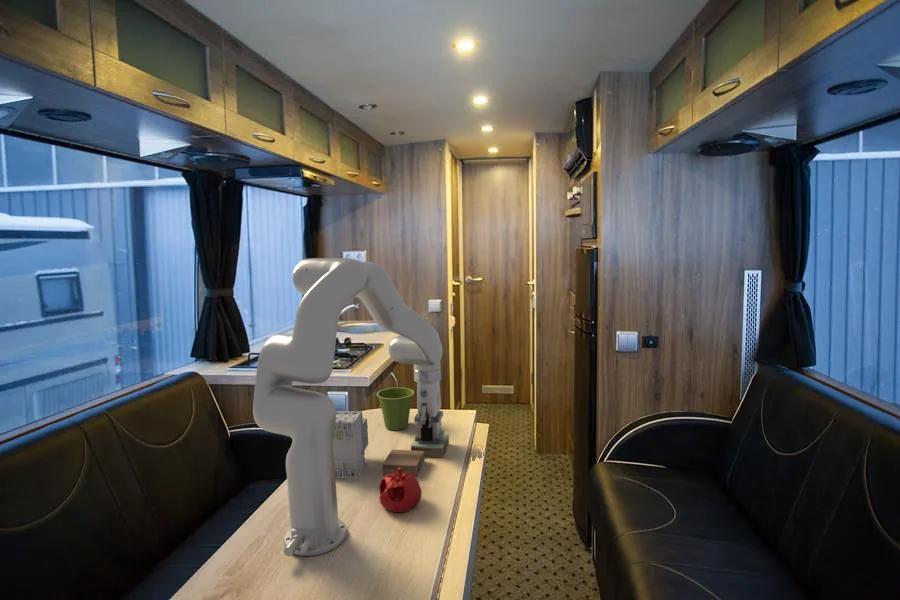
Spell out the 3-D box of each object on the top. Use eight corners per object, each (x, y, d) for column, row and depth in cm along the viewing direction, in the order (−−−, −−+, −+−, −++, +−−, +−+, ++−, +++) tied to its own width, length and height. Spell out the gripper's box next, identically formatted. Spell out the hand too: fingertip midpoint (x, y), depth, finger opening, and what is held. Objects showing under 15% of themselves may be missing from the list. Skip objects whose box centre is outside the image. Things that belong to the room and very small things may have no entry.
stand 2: (443, 457, 147) (442, 447, 146) (411, 455, 149) (410, 445, 148) (448, 443, 156) (448, 434, 155) (418, 442, 157) (418, 432, 157)
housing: (439, 442, 148) (438, 418, 147) (415, 441, 149) (414, 417, 148) (443, 434, 154) (443, 411, 153) (420, 433, 155) (419, 410, 154)
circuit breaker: (370, 454, 151) (367, 403, 148) (357, 478, 137) (353, 422, 134) (344, 453, 151) (341, 403, 149) (328, 477, 137) (324, 422, 135)
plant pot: (414, 433, 165) (413, 398, 163) (376, 434, 164) (374, 399, 163) (416, 419, 176) (415, 386, 175) (380, 420, 176) (378, 387, 174)
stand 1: (416, 477, 136) (416, 466, 136) (382, 475, 138) (382, 464, 137) (424, 461, 145) (424, 451, 144) (392, 459, 146) (392, 449, 146)
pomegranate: (402, 490, 130) (401, 454, 129) (430, 504, 123) (429, 466, 122) (369, 506, 123) (368, 467, 122) (397, 521, 116) (395, 481, 115)
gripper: (434, 384, 140) (436, 449, 142) (446, 366, 156) (448, 425, 159) (406, 383, 141) (409, 448, 144) (421, 366, 158) (423, 424, 160)
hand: (429, 435), depth 151 cm, fingers closed on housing, 6 cm apart
